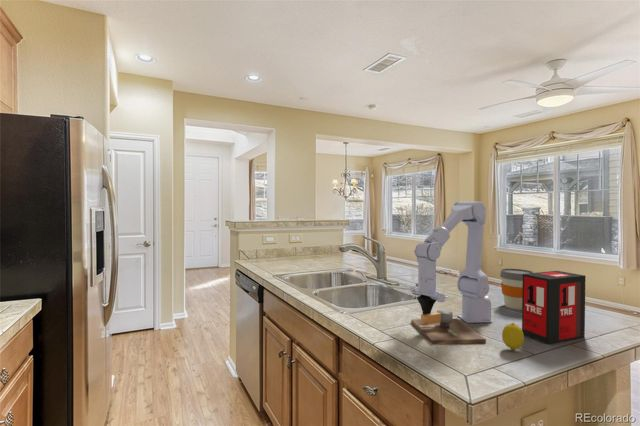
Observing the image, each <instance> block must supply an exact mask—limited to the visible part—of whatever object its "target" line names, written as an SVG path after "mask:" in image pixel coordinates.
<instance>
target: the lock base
mask: <svg viewBox="0 0 640 426" xmlns="http://www.w3.org/2000/svg"><path fill="white" fill-rule="evenodd" d="M410 322H411V324H412V325H413V327H415V328H416V329H417V331H418V332H419V333H421V334H422V336H423V337H424V338H425V339H426V340H427V341H428V342H429V343H430V344H431V345H448V344H449V345H451V344H452V345H453V344H486V343H487V338H486V337H484V336H482V335H481V334H480V333H478V332H477V331H476V330H474V329H473V328H471V327H469V326H468V325H467V324H465V323H464V322H463V321H462V320H460V319H458V318H453V322H452V323H450V324H445V323H435V324H429V325H422V324H421V318H420V319H419V318H418V319H417V318H416V319H414V318H413V319H412V318H411V319H410Z"/></svg>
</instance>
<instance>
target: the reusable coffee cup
mask: <svg viewBox="0 0 640 426" xmlns="http://www.w3.org/2000/svg"><path fill="white" fill-rule="evenodd" d="M527 273H535V272H534V271H532V270H528V269H521V268H501V270H500V275H499V276H500V280H501V282H500V288H501V294H502V296H503V302H504V306H505V307H506V308H509V309H513V310H519V311H520V310H521V311H522V288H523V274H527Z"/></svg>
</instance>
